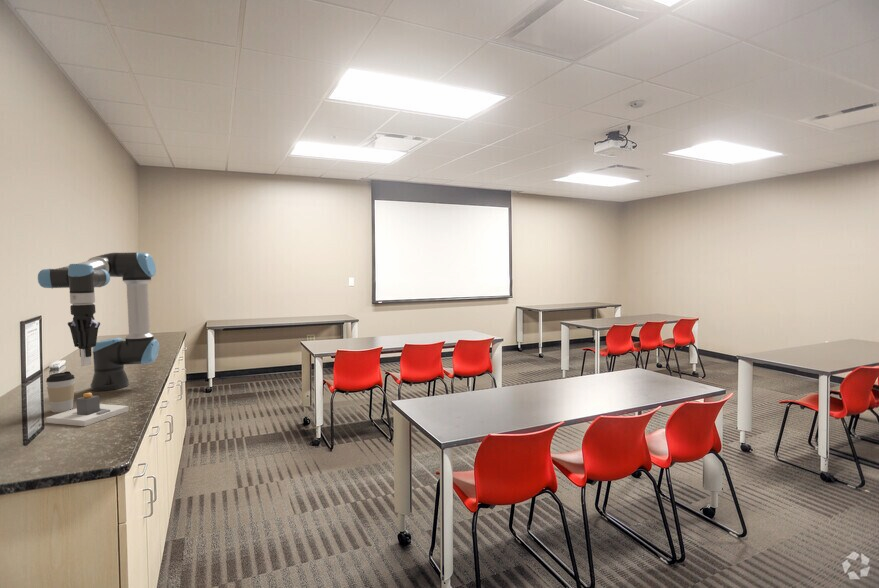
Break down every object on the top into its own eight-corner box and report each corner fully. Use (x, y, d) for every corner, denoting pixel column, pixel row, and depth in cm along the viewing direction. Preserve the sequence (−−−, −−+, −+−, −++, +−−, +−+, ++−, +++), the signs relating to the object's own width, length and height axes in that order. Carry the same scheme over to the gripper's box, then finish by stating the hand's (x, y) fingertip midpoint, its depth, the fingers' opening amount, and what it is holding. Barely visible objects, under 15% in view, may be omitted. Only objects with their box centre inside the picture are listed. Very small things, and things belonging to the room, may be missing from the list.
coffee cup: (60, 413, 182) (58, 376, 181) (41, 412, 184) (39, 375, 183) (82, 406, 191) (80, 371, 190) (64, 405, 193) (62, 370, 192)
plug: (89, 412, 181) (88, 391, 181) (100, 413, 180) (98, 392, 179) (77, 416, 176) (76, 394, 176) (87, 417, 175) (86, 395, 175)
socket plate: (92, 408, 189) (92, 401, 189) (128, 410, 185) (128, 404, 185) (46, 422, 171) (45, 415, 171) (85, 426, 167) (84, 419, 167)
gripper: (59, 304, 173) (63, 366, 175) (86, 305, 170) (90, 368, 172) (78, 303, 181) (82, 362, 182) (105, 303, 178) (109, 363, 179)
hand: (86, 365), depth 177 cm, fingers closed
